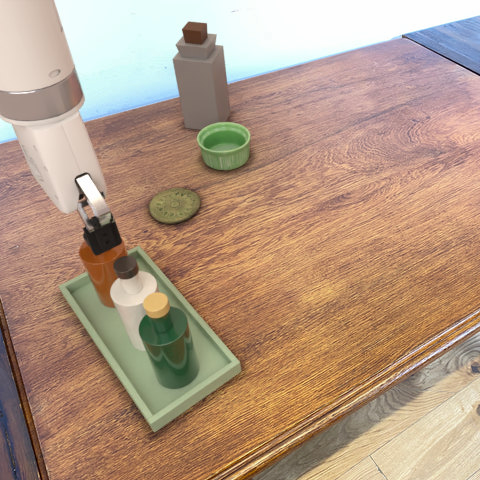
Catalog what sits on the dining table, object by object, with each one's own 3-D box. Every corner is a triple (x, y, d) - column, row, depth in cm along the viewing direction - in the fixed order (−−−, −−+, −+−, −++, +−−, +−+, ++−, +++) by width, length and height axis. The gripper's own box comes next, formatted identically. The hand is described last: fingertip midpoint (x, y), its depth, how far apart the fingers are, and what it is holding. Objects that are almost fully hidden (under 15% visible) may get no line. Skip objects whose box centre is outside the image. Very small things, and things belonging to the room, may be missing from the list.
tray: (63, 295, 68) (57, 285, 66) (142, 255, 73) (139, 245, 72) (154, 432, 55) (150, 424, 54) (241, 371, 61) (240, 362, 59)
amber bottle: (91, 290, 68) (64, 231, 60) (128, 271, 70) (106, 211, 62) (109, 314, 65) (83, 256, 57) (146, 294, 67) (126, 235, 60)
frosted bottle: (122, 332, 63) (91, 261, 54) (158, 310, 66) (135, 239, 56) (141, 359, 61) (113, 289, 51) (178, 336, 63) (158, 265, 54)
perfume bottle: (220, 132, 95) (207, 36, 82) (185, 127, 96) (167, 32, 83) (230, 112, 100) (220, 19, 87) (197, 109, 100) (182, 16, 88)
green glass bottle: (147, 367, 60) (120, 299, 51) (185, 343, 62) (165, 274, 53) (169, 397, 57) (144, 331, 48) (207, 372, 60) (190, 303, 50)
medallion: (186, 228, 77) (185, 225, 76) (139, 217, 78) (138, 213, 78) (209, 195, 82) (208, 192, 82) (164, 185, 84) (164, 182, 83)
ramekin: (262, 152, 91) (260, 131, 88) (231, 179, 85) (228, 158, 82) (222, 137, 94) (219, 116, 91) (189, 162, 88) (185, 140, 85)
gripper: (-38, 64, 49) (27, 198, 61) (30, 150, 40) (90, 286, 53) (41, 43, 53) (87, 174, 65) (119, 118, 44) (155, 252, 56)
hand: (88, 224), depth 59 cm, fingers open, 9 cm apart
